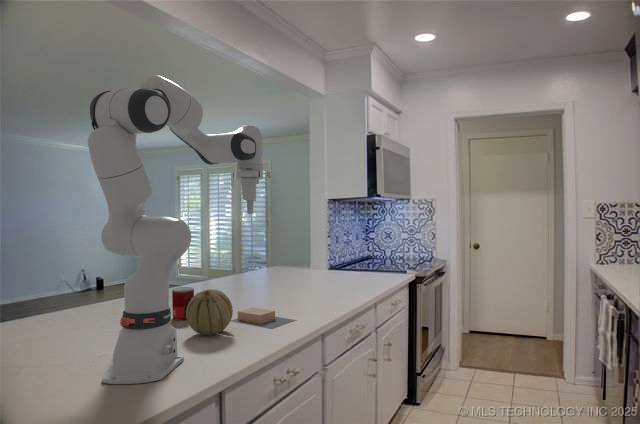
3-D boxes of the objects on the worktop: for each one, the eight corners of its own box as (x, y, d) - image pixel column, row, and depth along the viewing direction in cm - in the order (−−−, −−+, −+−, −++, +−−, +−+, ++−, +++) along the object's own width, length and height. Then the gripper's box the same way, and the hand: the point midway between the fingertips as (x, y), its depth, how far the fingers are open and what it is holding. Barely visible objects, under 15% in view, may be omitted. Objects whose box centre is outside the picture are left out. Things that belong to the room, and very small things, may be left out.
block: (275, 310, 163) (252, 307, 169) (260, 315, 156) (237, 311, 162) (275, 319, 163) (252, 315, 169) (260, 323, 156) (237, 319, 162)
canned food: (188, 320, 163) (187, 290, 163) (168, 319, 165) (168, 290, 165) (197, 315, 171) (197, 287, 171) (178, 314, 172) (178, 286, 172)
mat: (296, 321, 161) (296, 320, 161) (271, 330, 149) (271, 329, 149) (255, 314, 172) (255, 313, 172) (229, 322, 160) (229, 320, 160)
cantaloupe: (228, 326, 155) (228, 283, 155) (236, 337, 141) (236, 290, 141) (184, 330, 150) (184, 286, 149) (188, 343, 136) (187, 294, 136)
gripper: (242, 176, 163) (242, 213, 163) (238, 171, 143) (238, 214, 143) (259, 176, 164) (260, 213, 164) (258, 171, 144) (258, 214, 144)
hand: (250, 214), depth 153 cm, fingers closed
